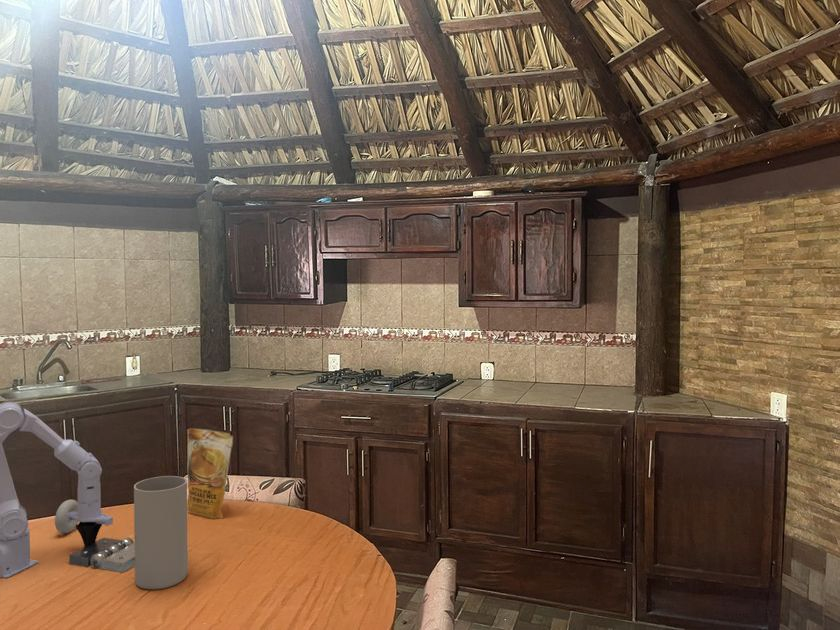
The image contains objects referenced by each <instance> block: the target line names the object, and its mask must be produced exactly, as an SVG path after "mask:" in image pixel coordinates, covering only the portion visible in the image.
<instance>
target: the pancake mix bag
mask: <svg viewBox="0 0 840 630" xmlns="http://www.w3.org/2000/svg"><path fill="white" fill-rule="evenodd" d="M186 437H187V438H186V439H187V441H186V444H187V447H186V448H187V449H186V450H187V454H186V455H187V456H186V458H187V463H186V464H187V465H186V468H187V491H188V494H187V511H188V513H189V514H190V515H193V516H197V517H201V518H205V519H209V520H218V519H223V517H224V516H223V510H222V509H223V504H224V499H225V494H226V485H227V479H228V473H229V468H230V461H231V456H232V455H231V454H232V450H233V446H234V436H233V434H231V433H230V432H226V431H220V430H219V431H217V430H212V429H204V428H195V427H190V428H188V429H186Z"/></svg>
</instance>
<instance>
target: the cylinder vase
mask: <svg viewBox="0 0 840 630" xmlns="http://www.w3.org/2000/svg"><path fill="white" fill-rule="evenodd" d="M133 508H134V509H133V515H134V517H133V518H134V520H133V521H134V524H133V525H134V539H133V540H134V543H135V566H134V583H135V585H136V586H138V587H139V588H141V589H144V590H151V591H152V590H153V591H154V590H162V589H165V588H170V587H173V586H175V585H178V584H179V583H181V582H183V580H184V579H185V578H186V577H188V576H187V575H188V572H189V571H188V569H189V568H188V565H189V564H188V510H187V508H188V479H187V478H185V477H183V476H176V475H163V476H156V477H150V478H146V479H143V480H140V481H138V482H136V483H135V484H134V485H133Z"/></svg>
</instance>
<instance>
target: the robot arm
mask: <svg viewBox="0 0 840 630" xmlns="http://www.w3.org/2000/svg"><path fill="white" fill-rule="evenodd" d="M17 429H19V432H30V433H32V434H33V435H35V436H36V437H37V438H39V439H40V440H41V441H43V442H44V443H46V444H47V445H48V446H50V447H51V448H53V449H54V450H53V451H54V452H53V455H54V457H55V458H56V459H57V460H59V461H60V462H62V463H63V464H64V465H66V466H67V467H68V468H69V469H71V470H72V471H75V473H77V475H78V476H77V479H78V480H77V481H78V484H77V502H78V512H69V513H67V514H66V520H68V521H70V520H76V521H78V523H77V525H76V527H75V529H76V530H77V532H78V533H79V536H81V539H82V542H83V545H84V547H86V546H88V545H90V544H92V543H94V542H96V541H97V538H98V535H99V531H100V530H101V528H102V526H103V525H104V526H106V527H108V526H111V525H113V524H114V517H113V516H109V515H108V514H106V513H105V514H104V513H103V512H104V511H103V510H101V509H102V508H101V500H102V499H101V496H102V495H101V481H100V480H101V474H102V472H103V469H102V466H101V464H100V462H99V460H98V459H97V458H96V457H95V456H94V455H93V453H91V451H90V452H87V450H85V449H84V448H83V447H81V446H80V445H81V443H80V442H79V441H77V440H73V439H63V437H61V436H60V435H59V434H57V432H55V431H54V430H53V429H52V428H51V427H49V426H48V424H46V423H45V422H44V421H42V420H41V418H39V417H38V416H37V415H35V414H34V413H32V412H31V411H29V410H28V409H26V408H22V407H21V405H20V404H18V403H17V402H14V401H5V402H2V403H0V578H4V579H7V578H10V577H12V576H14V575H16V574H18V573H20V572H22V571H24V570H26V569H29V568H31V567H33V566H35V565H37V564H38V563H39V560H36V559H35V560H34V559H31V540H30V538H31V536H30V535H31V534H30V528H29V520H28V518H27V517H28V513H27V510H26V508H25V507H24V506H22V505H21V503H20V501H19V498H18V494H17V492H16V488H15V485H14V481H13V478H12V473H11V471H10V467H9V464H8V459H7V458H6V453H5V450H4V447H3V446H4V445H3V442H4V441H5V440H6V438H8V436H9V435H10V434H11V433H12V432H14V431H15V430H17Z"/></svg>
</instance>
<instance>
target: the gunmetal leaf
mask: <svg viewBox="0 0 840 630" xmlns="http://www.w3.org/2000/svg"><path fill="white" fill-rule="evenodd" d="M121 540H122V539H115V538H107V537H102V538H100V539H98V540H96V541H95V542H94V543H92V544H90V545H88V546H86V547H85V546H84V547H82V548H80V549H78V550H76V551H74V552H72V553H70V554H69V555H68V560H69V561H68V562H69V563H68V564H69V565H75V566H81V567H85V568H86V567H87V568H89V567H92V565H91V563H90V558H91V557H92V556H93V555H95V554H96V553H98V552H100V551H103V552H105V553H106V554H107V556H108V557H109V556H111V555H112V554H113V552H112V550H111V549H109V548H108V547H110V546H112V545H114V544H117V545H119V546H120V548H121V550H122V549H124V548H125V547H126V545H125V543H124V542H122V541H121Z"/></svg>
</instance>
